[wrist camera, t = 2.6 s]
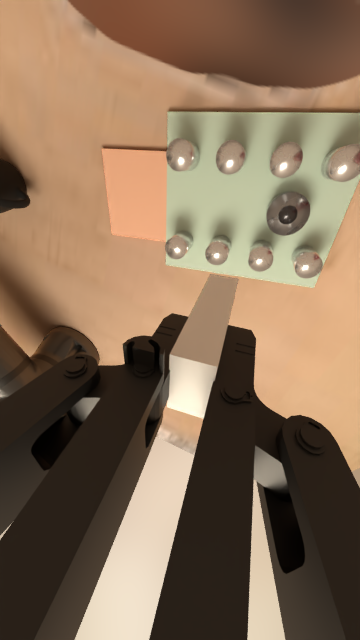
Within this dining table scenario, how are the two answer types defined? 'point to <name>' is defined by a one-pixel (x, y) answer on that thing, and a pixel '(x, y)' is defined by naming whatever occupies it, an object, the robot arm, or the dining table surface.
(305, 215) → the dark grey disc
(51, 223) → the dining table surface
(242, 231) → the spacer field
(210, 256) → the spacers
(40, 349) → the robot arm
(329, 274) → the dining table surface
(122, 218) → the tile
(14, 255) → the dining table surface
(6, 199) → the mug
